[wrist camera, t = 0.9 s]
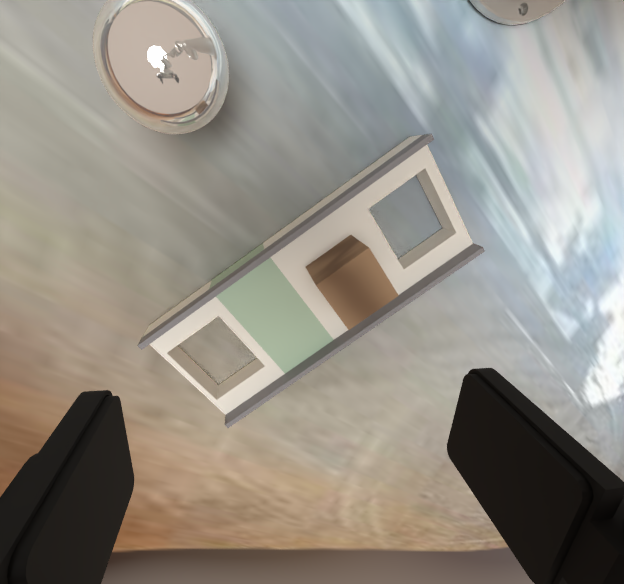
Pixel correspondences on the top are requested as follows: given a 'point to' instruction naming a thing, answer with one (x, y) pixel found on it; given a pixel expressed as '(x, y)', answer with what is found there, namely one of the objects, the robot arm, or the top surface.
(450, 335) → the top surface
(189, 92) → the light bulb
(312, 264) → the walnut block
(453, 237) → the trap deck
